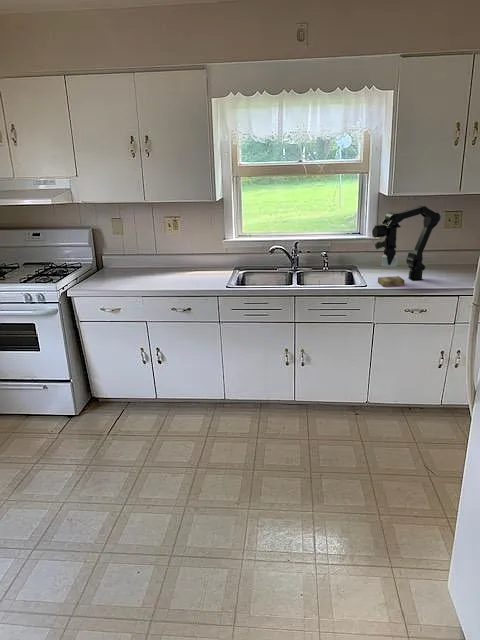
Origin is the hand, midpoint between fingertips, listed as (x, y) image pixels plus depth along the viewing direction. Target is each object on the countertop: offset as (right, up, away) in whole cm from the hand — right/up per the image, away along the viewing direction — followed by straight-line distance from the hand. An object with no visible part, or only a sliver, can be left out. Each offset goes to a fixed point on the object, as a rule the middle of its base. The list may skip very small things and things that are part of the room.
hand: (389, 263), depth 269 cm
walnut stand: (+1, -12, 0) cm, 12 cm away
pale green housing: (0, -1, 0) cm, 1 cm away
